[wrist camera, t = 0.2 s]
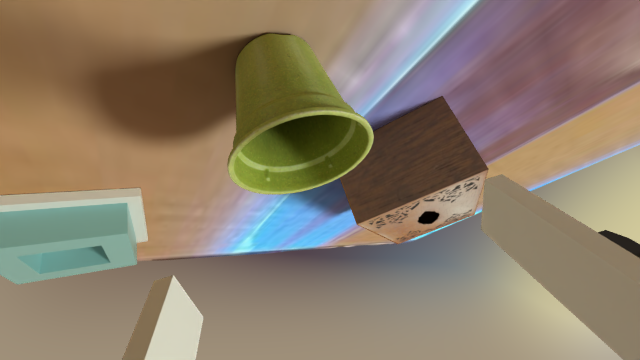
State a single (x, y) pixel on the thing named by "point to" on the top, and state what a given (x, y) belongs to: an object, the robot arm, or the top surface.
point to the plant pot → (291, 120)
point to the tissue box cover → (416, 175)
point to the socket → (69, 233)
